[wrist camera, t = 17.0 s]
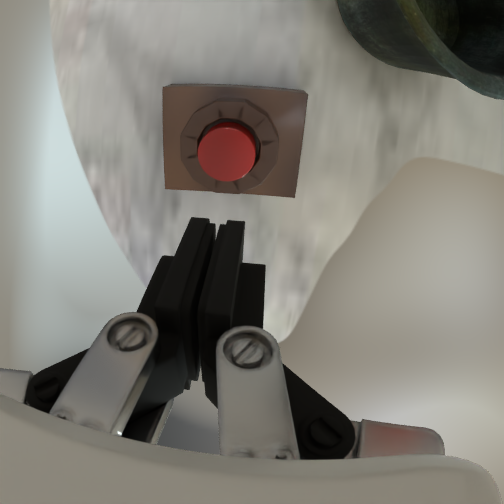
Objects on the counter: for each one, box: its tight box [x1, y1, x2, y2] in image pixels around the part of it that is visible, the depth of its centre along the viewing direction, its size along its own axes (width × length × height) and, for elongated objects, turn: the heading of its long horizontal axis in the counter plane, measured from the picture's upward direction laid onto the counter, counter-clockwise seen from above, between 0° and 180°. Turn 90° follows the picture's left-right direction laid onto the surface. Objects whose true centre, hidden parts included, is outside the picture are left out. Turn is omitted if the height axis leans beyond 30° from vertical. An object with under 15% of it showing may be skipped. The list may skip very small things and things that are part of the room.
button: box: [198, 122, 256, 181], centre depth 20 cm, size 4×4×2 cm
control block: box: [163, 84, 308, 198], centre depth 22 cm, size 10×8×4 cm
